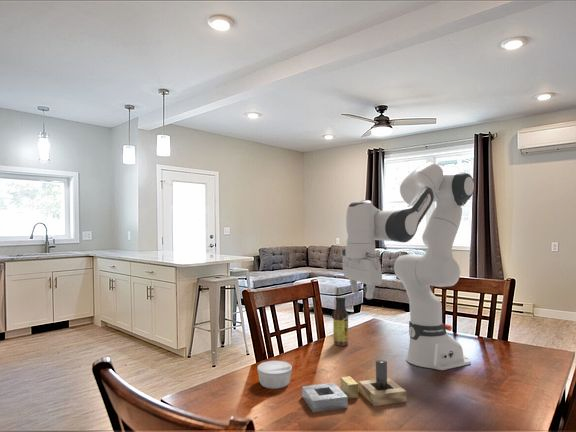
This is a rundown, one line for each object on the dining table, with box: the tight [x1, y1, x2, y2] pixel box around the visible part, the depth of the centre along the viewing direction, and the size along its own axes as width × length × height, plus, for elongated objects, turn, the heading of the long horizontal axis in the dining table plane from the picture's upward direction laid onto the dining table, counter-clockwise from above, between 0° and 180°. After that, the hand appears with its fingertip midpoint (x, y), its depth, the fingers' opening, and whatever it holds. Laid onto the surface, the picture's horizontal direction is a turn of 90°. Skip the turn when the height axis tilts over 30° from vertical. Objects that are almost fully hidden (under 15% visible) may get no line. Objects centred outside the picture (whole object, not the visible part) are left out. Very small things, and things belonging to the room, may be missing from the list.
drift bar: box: [340, 375, 359, 400], centre depth 116 cm, size 3×6×4 cm, turn 15°
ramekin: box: [256, 360, 293, 390], centre depth 124 cm, size 11×11×5 cm
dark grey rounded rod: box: [375, 359, 388, 390], centre depth 114 cm, size 3×3×10 cm
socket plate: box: [301, 382, 349, 413], centre depth 111 cm, size 10×10×3 cm
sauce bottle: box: [332, 295, 349, 347], centre depth 165 cm, size 7×6×20 cm
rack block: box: [358, 377, 407, 407], centre depth 114 cm, size 10×10×3 cm
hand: (362, 295), depth 123 cm, fingers open, 8 cm apart
